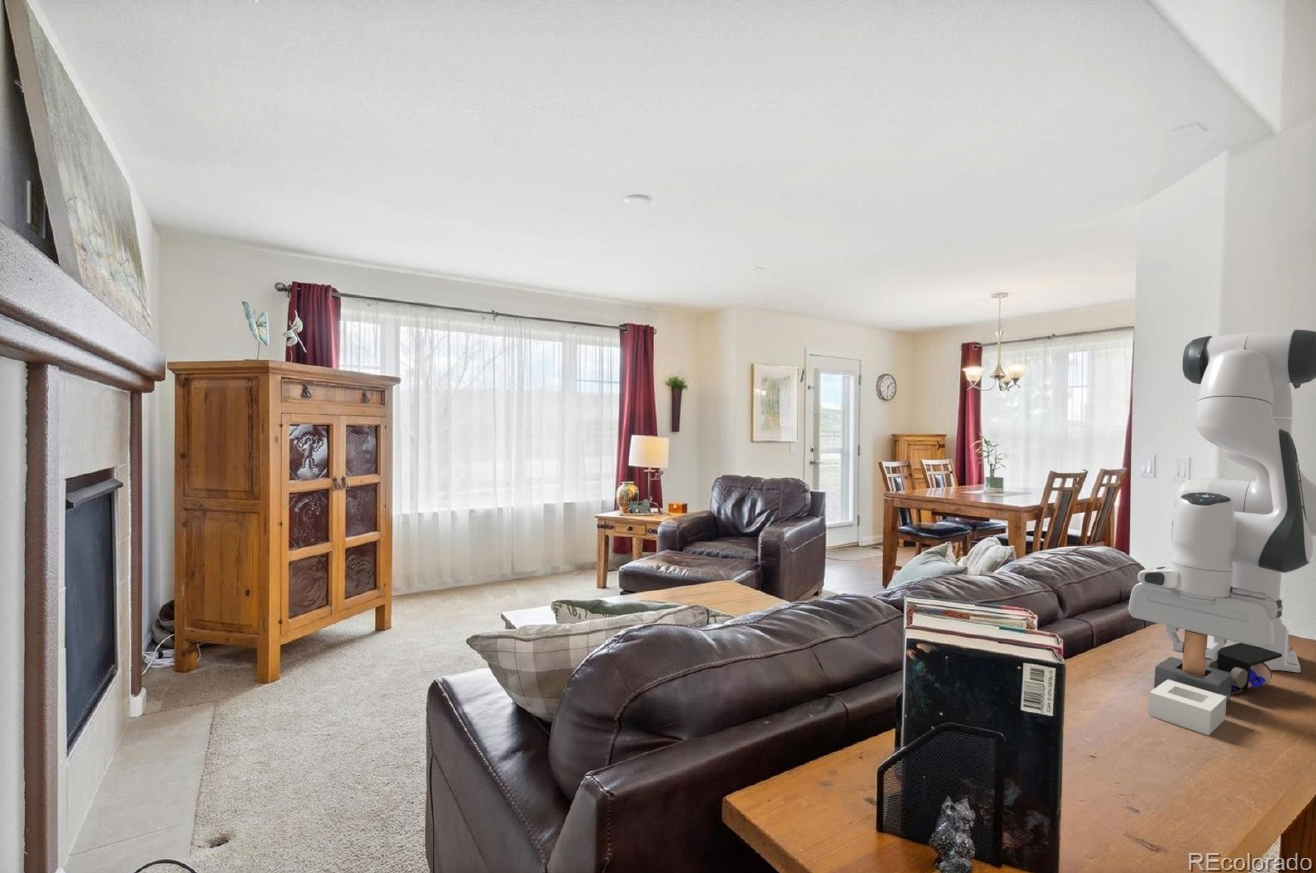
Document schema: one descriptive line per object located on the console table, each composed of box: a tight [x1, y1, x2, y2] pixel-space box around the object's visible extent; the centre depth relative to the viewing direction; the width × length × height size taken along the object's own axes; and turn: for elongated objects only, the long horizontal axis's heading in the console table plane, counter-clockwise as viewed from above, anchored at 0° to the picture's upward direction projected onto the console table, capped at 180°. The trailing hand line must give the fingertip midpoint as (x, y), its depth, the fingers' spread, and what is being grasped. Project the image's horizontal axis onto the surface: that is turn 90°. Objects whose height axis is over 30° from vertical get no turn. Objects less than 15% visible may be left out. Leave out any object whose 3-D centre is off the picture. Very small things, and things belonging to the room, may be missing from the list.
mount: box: [1153, 656, 1232, 705], centre depth 114 cm, size 9×9×5 cm
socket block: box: [1147, 680, 1227, 736], centre depth 106 cm, size 10×8×4 cm
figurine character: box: [1206, 643, 1282, 695], centre depth 119 cm, size 7×8×15 cm
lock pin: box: [1182, 630, 1208, 676], centre depth 114 cm, size 3×3×12 cm
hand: (1194, 655), depth 114 cm, fingers closed on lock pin, 3 cm apart
